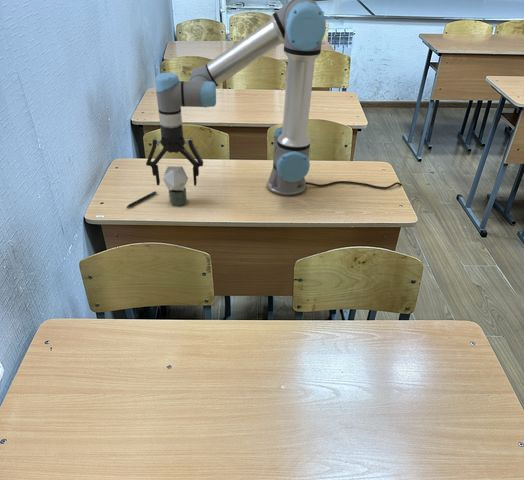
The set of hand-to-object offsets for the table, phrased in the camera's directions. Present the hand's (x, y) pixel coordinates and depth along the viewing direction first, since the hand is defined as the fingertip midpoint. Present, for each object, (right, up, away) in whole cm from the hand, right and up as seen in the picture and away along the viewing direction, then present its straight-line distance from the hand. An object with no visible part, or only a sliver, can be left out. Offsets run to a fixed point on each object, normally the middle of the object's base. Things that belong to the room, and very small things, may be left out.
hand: (176, 184), depth 187 cm
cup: (0, -5, +5) cm, 7 cm away
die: (0, -2, +1) cm, 2 cm away
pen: (-14, -5, +5) cm, 16 cm away
